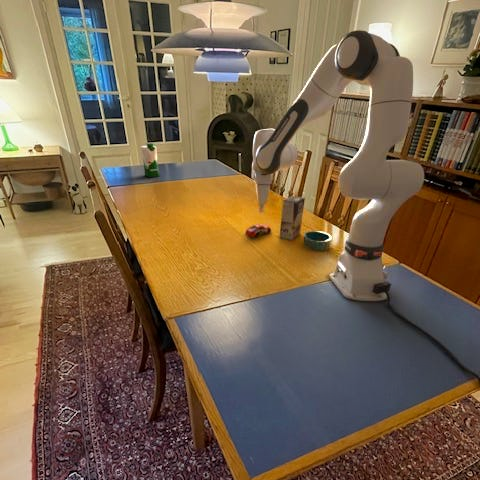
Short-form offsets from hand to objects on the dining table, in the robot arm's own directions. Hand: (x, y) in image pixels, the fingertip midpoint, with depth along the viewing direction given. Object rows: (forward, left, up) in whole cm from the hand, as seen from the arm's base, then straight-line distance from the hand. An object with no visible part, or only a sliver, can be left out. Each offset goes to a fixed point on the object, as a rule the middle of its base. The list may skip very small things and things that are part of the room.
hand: (260, 208), depth 146 cm
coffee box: (+1, -14, -12) cm, 18 cm away
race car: (+1, 0, -12) cm, 12 cm away
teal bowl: (-10, -24, -12) cm, 29 cm away
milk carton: (+99, +71, -12) cm, 122 cm away
